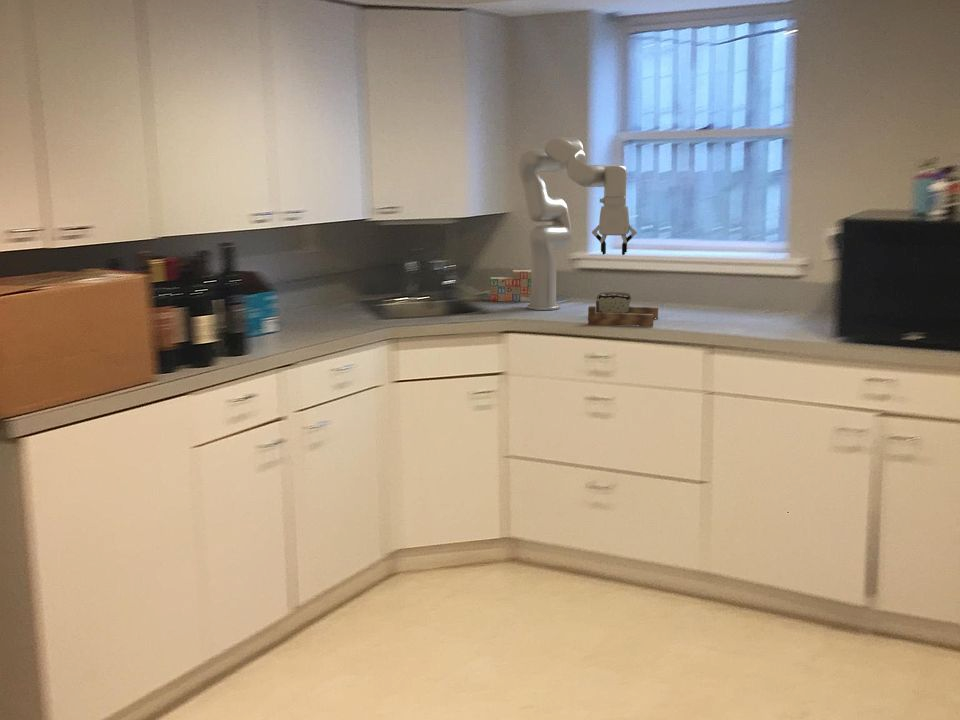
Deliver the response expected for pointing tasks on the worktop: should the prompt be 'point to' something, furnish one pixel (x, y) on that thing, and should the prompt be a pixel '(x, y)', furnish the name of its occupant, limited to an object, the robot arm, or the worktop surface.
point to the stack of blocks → (511, 286)
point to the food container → (614, 302)
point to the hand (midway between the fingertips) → (613, 253)
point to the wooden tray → (623, 316)
